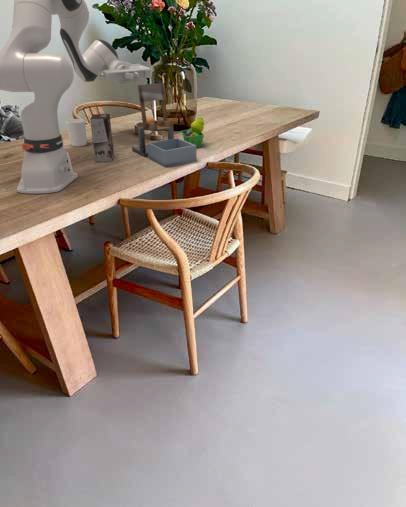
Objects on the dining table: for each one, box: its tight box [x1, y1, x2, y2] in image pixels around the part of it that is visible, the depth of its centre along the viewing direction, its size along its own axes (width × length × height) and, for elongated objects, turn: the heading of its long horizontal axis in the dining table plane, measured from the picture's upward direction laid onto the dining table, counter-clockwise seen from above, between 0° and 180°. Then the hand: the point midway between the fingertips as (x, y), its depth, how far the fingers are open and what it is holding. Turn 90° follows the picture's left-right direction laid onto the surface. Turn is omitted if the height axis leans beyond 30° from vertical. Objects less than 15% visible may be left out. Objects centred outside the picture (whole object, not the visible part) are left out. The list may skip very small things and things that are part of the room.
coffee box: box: [89, 113, 115, 163], centre depth 162 cm, size 9×6×16 cm
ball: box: [146, 116, 155, 124], centre depth 171 cm, size 4×4×4 cm
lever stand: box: [131, 126, 175, 158], centre depth 172 cm, size 11×15×11 cm
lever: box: [137, 82, 174, 132], centre depth 165 cm, size 15×10×17 cm
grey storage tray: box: [146, 137, 198, 168], centre depth 163 cm, size 14×14×6 cm
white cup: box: [65, 118, 88, 147], centre depth 182 cm, size 8×8×10 cm
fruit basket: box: [181, 116, 205, 148], centre depth 180 cm, size 11×9×11 cm
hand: (135, 76), depth 171 cm, fingers closed
